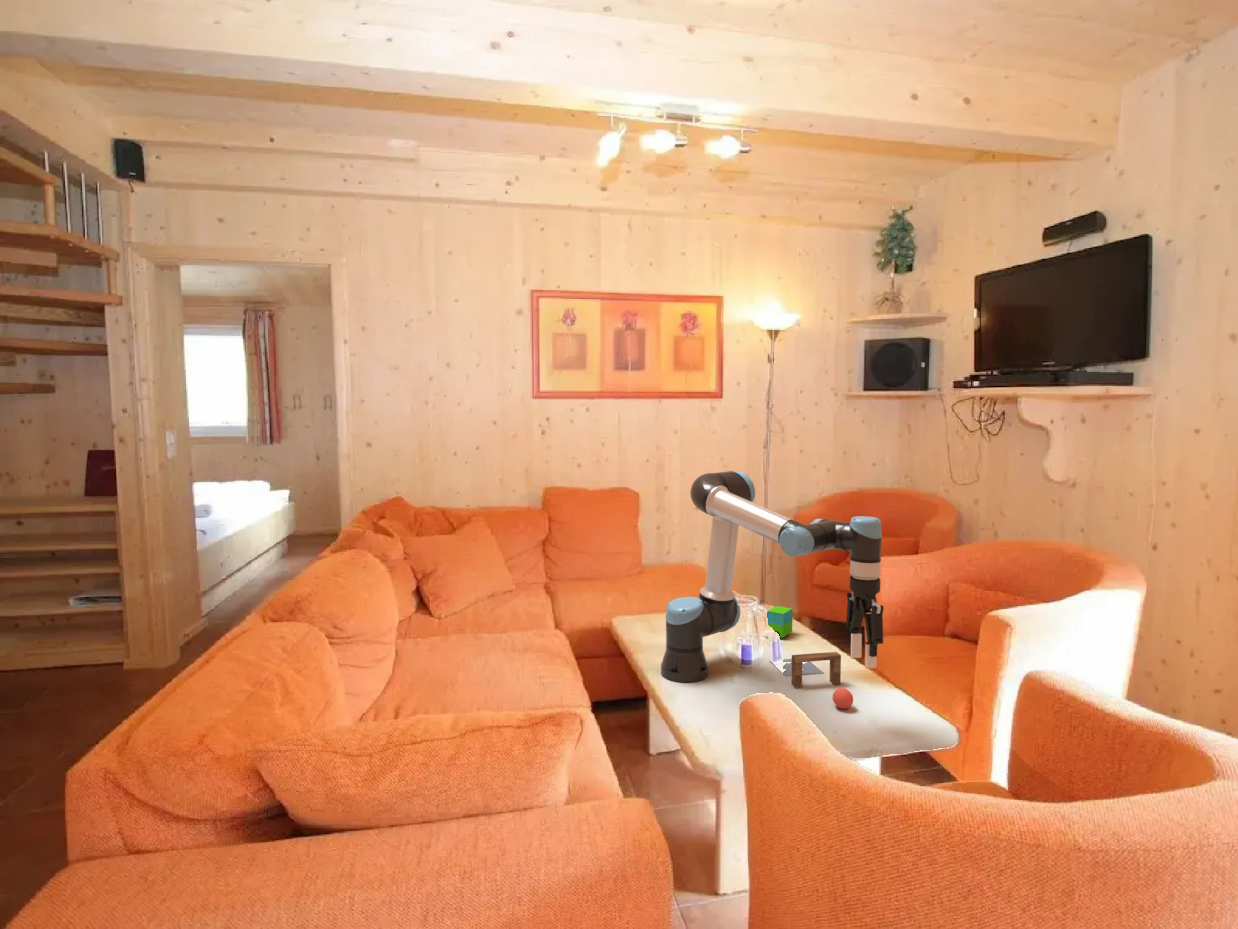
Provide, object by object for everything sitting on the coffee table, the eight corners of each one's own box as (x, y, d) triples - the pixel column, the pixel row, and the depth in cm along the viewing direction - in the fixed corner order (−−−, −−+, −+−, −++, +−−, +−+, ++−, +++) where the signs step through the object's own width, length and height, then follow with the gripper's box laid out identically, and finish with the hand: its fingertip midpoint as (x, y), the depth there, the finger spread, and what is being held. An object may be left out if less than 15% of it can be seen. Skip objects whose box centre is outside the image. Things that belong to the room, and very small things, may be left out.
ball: (838, 713, 177) (838, 693, 177) (828, 704, 183) (829, 685, 182) (856, 711, 178) (857, 692, 178) (846, 702, 184) (847, 684, 183)
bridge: (840, 684, 196) (840, 655, 195) (795, 688, 194) (796, 658, 193) (835, 680, 199) (836, 651, 198) (791, 684, 196) (791, 655, 196)
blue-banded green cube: (761, 627, 250) (761, 601, 250) (793, 634, 242) (793, 608, 241) (748, 634, 243) (748, 608, 242) (781, 641, 234) (781, 614, 233)
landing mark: (785, 676, 203) (785, 675, 202) (769, 661, 215) (769, 660, 215) (823, 673, 205) (823, 672, 205) (805, 658, 217) (805, 657, 217)
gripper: (900, 585, 159) (898, 675, 161) (858, 567, 178) (856, 648, 180) (872, 586, 158) (870, 678, 159) (833, 568, 177) (831, 650, 178)
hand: (863, 662), depth 169 cm, fingers open, 6 cm apart
